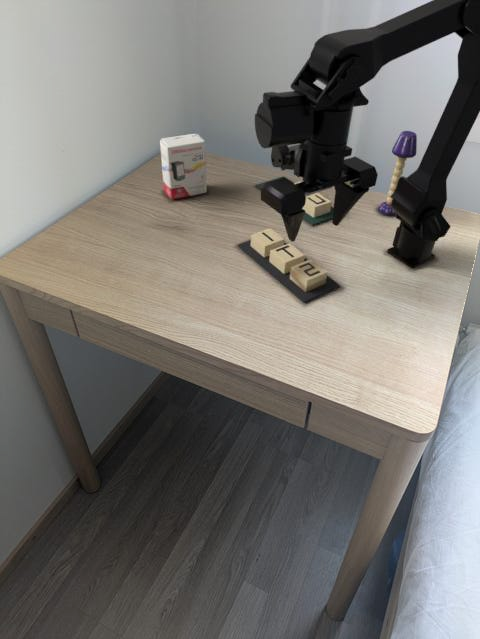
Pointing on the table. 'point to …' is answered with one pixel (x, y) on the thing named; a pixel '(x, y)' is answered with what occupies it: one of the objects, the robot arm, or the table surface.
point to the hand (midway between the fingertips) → (313, 232)
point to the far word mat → (306, 217)
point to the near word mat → (287, 277)
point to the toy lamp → (399, 165)
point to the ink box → (183, 165)
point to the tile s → (308, 275)
